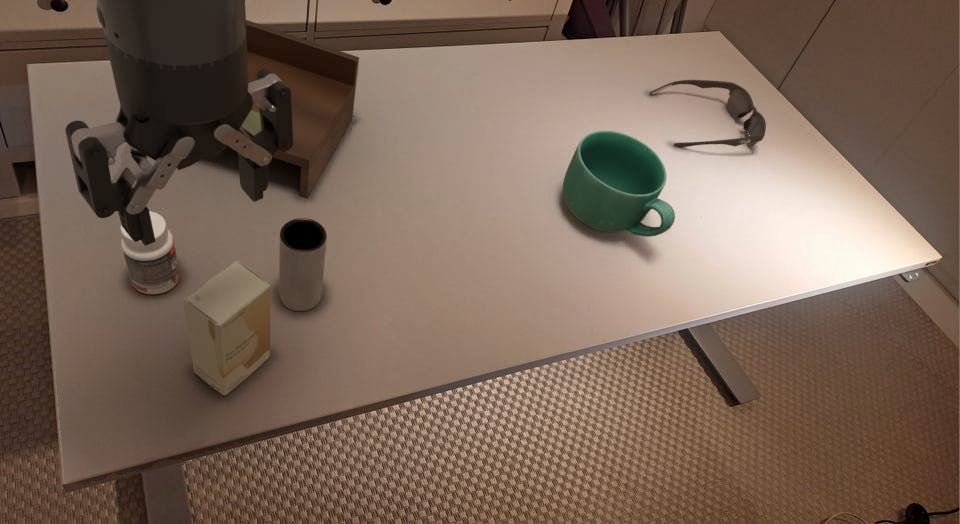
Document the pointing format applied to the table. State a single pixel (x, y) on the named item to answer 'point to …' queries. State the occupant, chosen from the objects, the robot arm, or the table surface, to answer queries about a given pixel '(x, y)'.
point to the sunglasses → (737, 107)
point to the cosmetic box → (229, 326)
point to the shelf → (305, 95)
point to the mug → (616, 184)
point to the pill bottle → (152, 259)
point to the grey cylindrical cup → (301, 263)
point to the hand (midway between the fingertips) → (200, 214)
